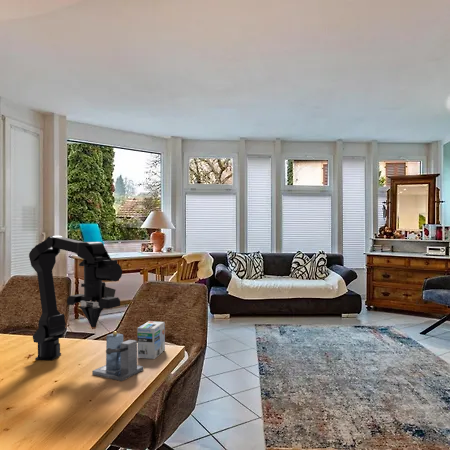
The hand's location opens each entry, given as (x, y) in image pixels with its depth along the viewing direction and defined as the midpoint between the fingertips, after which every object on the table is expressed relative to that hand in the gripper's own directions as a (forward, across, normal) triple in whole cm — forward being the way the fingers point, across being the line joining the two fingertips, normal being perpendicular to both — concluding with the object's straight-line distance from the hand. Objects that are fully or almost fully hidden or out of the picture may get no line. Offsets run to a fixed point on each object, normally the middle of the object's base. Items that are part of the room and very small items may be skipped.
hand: (93, 327), depth 128 cm
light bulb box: (+14, -9, -19) cm, 25 cm away
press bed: (+13, -10, +2) cm, 17 cm away
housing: (+12, -9, 0) cm, 15 cm away
